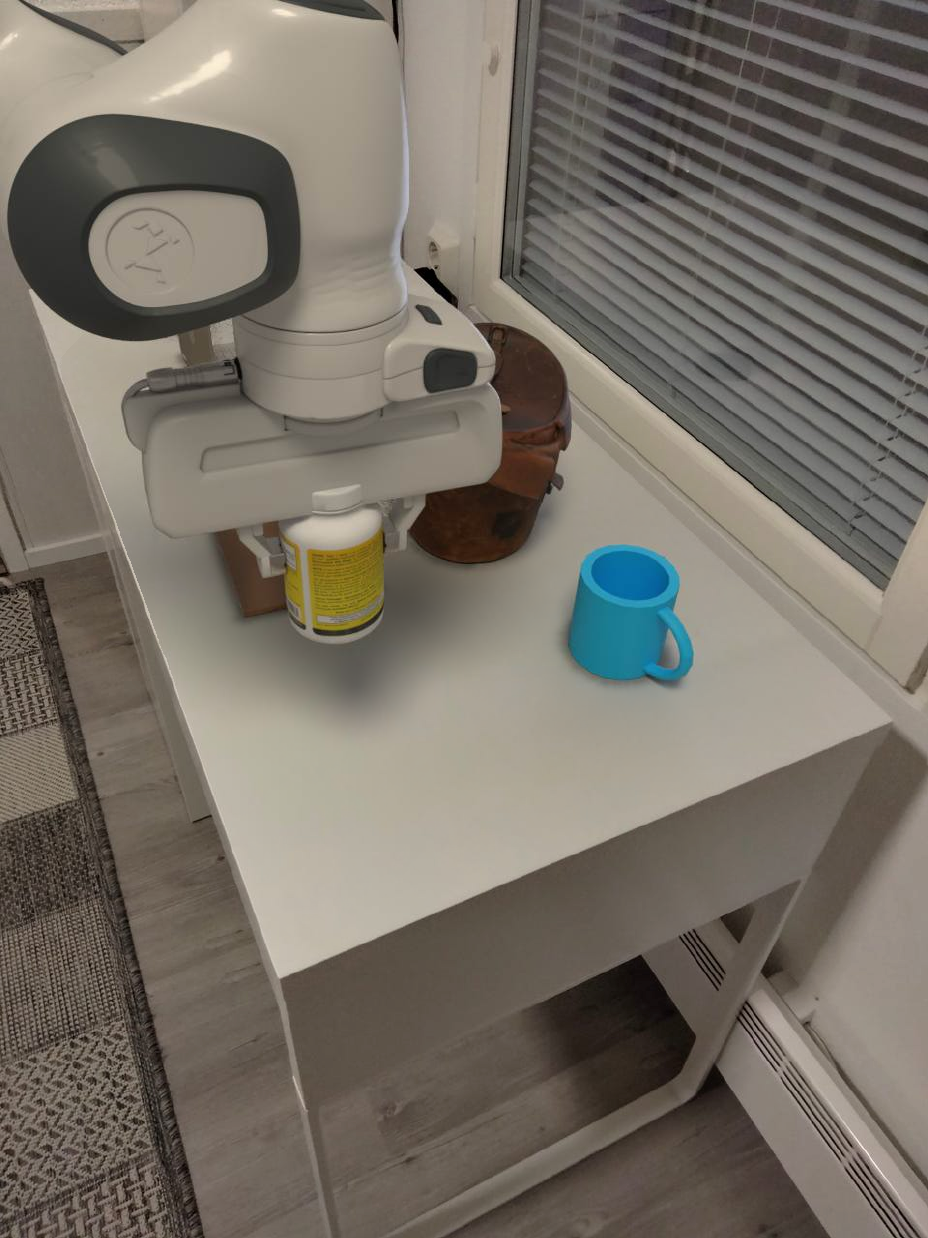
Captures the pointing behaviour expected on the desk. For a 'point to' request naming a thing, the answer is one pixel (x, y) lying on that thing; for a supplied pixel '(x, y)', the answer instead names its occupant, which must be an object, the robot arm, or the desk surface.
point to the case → (506, 457)
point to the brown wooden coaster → (252, 574)
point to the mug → (627, 614)
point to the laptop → (203, 347)
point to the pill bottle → (335, 567)
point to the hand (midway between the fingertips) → (333, 558)
